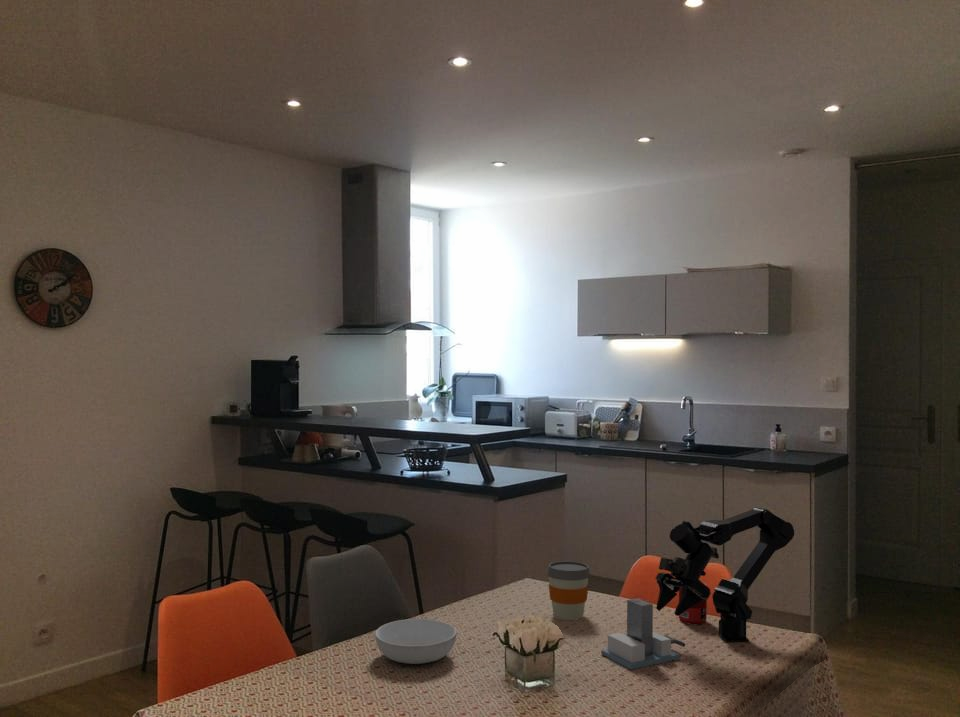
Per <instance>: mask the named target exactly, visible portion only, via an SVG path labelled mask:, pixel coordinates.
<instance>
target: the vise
mask: <svg viewBox="0 0 960 717" xmlns="http://www.w3.org/2000/svg"><path fill="white" fill-rule="evenodd" d="M673 644H676V645H679V646H680V647H683V648H684V647H685V646H686V643H685V642H683V641H681V640H678V639H676V638H674V637H671V636H669V635H667V634H665V635H662V634H660V633H657V632H655V631H653V648H652V655H650V656H645V644H643V643H641V642H639V641H637V640H635V639H633V638H630V637H628V636H627V634H626V635H625V634H624V633H622V632H616V633H611V634H607V648H605V649H601V654H602V656H603V655H604V656H603V657H605V656H606V657H605V658H607V657H608V658H607V659H609V658H610V659H609V660H611V659H612V661H613V662H615V661H616V662H615V663H617V664H619V665H621V666H623V667H625V668H626V669H628V668H629V670H630V669H631V670H635V668H636V669H640V668H639V667H641V668H644V666H645V667H650V666H654V665H653V664H655V665H658V664H659V663H660V664H663V663H662V662H665V663H668V662H667V661H669V662H673V661H672V660H674V661H678V660H677V659H679V660H680V659H681V654H679V653H677V652H675V651H674V650H671V646H672V645H673ZM649 665H650V666H649Z"/></svg>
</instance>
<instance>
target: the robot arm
mask: <svg viewBox="0 0 960 717" xmlns="http://www.w3.org/2000/svg"><path fill="white" fill-rule="evenodd" d="M756 527H758V529H760V530H759V540H758V543H756V545H755V546H754V547H753V549H752V550H751V552H750V553H749V555H748V556H747V558H746V559H745V560H744V562H743V563H742V564H741V566H740V567H739V568H738V570H737V572H736V573H735V574H734V576H733V577H732V578H730V579H725V578H722V579H721V580H720V581H719V583H718V585H717V586H716V587H714V588H713V590H714V592H713V593H712V594H711V588H710V587H709V586H708V585H707V584H706V583H705V584H706V585H705V584H704V582H702V581H701V580H700V578H701V577H706V574H707V572H706V571H705V569H707V568H706V567H707V566H708V564H709V562H710V560H711V559H712V558H713V559H717V560H719V559H720V558H719V557H720V554H719V553H718V548H716V547H714V546H711V545H715V546H723V545H725V544H726V543H728V542H729V541H731V540H732V538H733V536H735V535H736V534H739V533H742V532H745V531H748V530H750V529H753V528H756ZM794 536H795V530H794V526H793V524H792V523H791V522H789V521H786V520H784V519H782V518H781V517H779V516H777V515H775V514H774V513H773V512H771V511H770V510H769V509H767V508H762V507H754V508H753V507H752V509H750V510H748V511H744V512H742V513H739V514H736V515H733V516H731V517H727V518H724V519H710V520H704V521H702V522H701V523H700V524H699V525H698V526H695V527H694V526H693V525H692V523H691V522H690V521H686V520H683V521H682V523H681V524H677V525H676V526H675V527H674V528H672V529H671V531H670V532H669V539H670V541H671V542H673V543H674V544H675V546H676V547H678V549H679V550H681V551H682V552H683V553H685V554H687V555H686V556H685V558H682V557H678V556H675V557H674V558H667V557H660V560H659V565H658V569H659V570H661V572H658V573H657V575H656V576H655V577H654V579H655V580H656V584H657V585H658V587H659V592H658V599H657V602H656V607H655V609H656V610H657V611H658V612H660V611H661V610H662V609H664V608H665V607H666V605H668V604H669V603H670V602H672V600H673V599H674V598H675V597H677V595H678V593H679V590H680V588H682V597H681V599H680V601H679V600H678V604H677V606H676V607H675V610H674V612H673V613H674V615H675V617H676V616H678V617H679V615H680V614H682V613H683V612H685V611H686V610H688V609H689V608H691V607H692V606H694V605H696V604H698V603H699V602H701V601H702V602H703V601H704V600H703V599H706V600H707V601H708V599H709V598H710V596H711V595H712V602H713V604H712V605H714V609H715V612H716V613H717V614H720V619H719V620H718V632H717V634H718V635H717V636H719V637H720V638H721V639H723V640H724V641H725V642H749V640H750V639H749V638H748V637H747V621H748V620H750V619H751V618H752V616H753V610H752V609H751V608H750V606H748V604H747V602H748V601H749V589H750V588H751V587H752V585H753V583H754V582H755V580H756V579H757V577H758V576H759V574H760V573H761V572H762V570H763V569H764V568H765V567H766V564H767V563H769V561H770V559H771V558H772V556H773V554H774V553H775V552H776V551H779V550H781V549H783V548H785V547H786V546H787V545H788V544H789V543H790V542H791V541H792V540H793V539H794ZM710 544H711V545H710ZM663 570H664V571H667V572H663ZM669 572H670V573H669Z"/></svg>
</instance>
